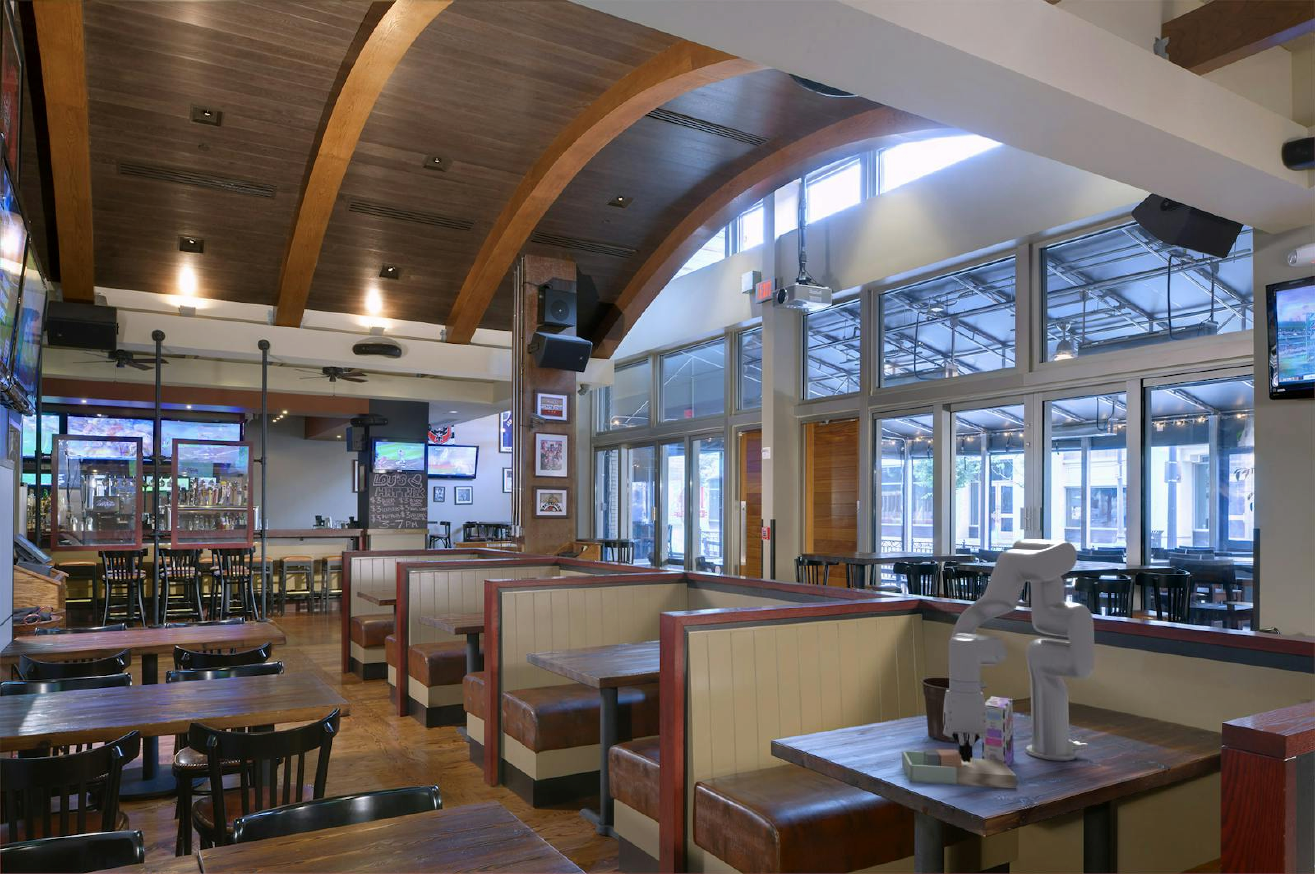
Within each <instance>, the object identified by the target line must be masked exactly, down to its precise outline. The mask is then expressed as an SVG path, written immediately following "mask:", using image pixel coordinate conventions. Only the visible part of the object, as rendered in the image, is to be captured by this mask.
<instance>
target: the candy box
mask: <svg viewBox="0 0 1315 874" xmlns="http://www.w3.org/2000/svg"><path fill="white" fill-rule="evenodd" d="M1013 704H1014V703H1013V698H1009V697H1008V698H1007V697H999V696H998V697H997V696H992V695H991V696H990V698H988V699H987V700H985V705H986V714H987V734H988V737H987V738H983V739H981V740H982V741H981V744H982V745H981V747H982V748H981V749H982V750H981V751H982V753H981V756H982V757H981V759H994V760H1002V761H1003V762H1004V763H1005V764H1006V765H1007V766H1008V767H1009V768H1010V765H1011V764H1012V763H1013V761H1014V760H1015V758H1014V757H1015V756H1014V755H1015V754H1014V753H1015V752H1014V751H1015V748H1014V714H1013V713H1014V711H1013V707H1014V706H1013Z"/></svg>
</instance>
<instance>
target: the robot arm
mask: <svg viewBox="0 0 1315 874" xmlns="http://www.w3.org/2000/svg"><path fill="white" fill-rule="evenodd" d="M1077 561H1078V553H1077V550H1076V548H1075V546H1074V545H1073V543H1071V542H1069V541H1066V540H1059V539H1058V540H1057V539H1041V538H1040V539H1039V538H1038V539H1037V538H1024V539H1023V538H1022V539H1019V540H1017V541H1015V542H1014V543H1013V545H1012V548H1010V549H1006V550H1003V551H1002V552H1001V553H1000V554H999V555H998V557H997V559H996V562H995V564H994V567H993V570H992V573H991V575H990V578H989V580H988V583H987V586H986V589H985V591H984V594H982V596H981V597H980V598H979V599H977V600H976V601H974V602H973V603H972V604H970V605H969V606H967V608H966V609H965V610H964V611H963V612H962V613H961V614H960V615H959V617H958V619H957V620H956V624H955V626H954V628H953V631H952V634H951V638H950V639H949V642H948V671H949V673H948V678H949V690H946V693H945V699H944V710H943V725H944V731H943V734H944V735H945V736H948V737H952V738H954V739H955V740H956V741H957V742H958V743H957V744H958V753H959V754H960V755H961V759H962V760H963V762H970V758H974V757H973V746H974V745H975V743H977V742H978V740H982V739H983V738H987V737H988V734H987V714H986V705H985V702H986V700H985V696H984V693H983V692H982V690H983V689H987V683H986V682H982V680H981V666H998V665H1000V664H1002V663H1003V662H1004V661H1005V660H1006V658H1007V656H1008V648H1007V645H1006V643H1005V642H1004V641H1003V640H1002V639H1001V638H999V637H997V636H993V635H988V634H982V633H975V632H976V631H977V629H978V628H979V627H980V626H981V625H982V624H984V623H985V622H987V621H989V620H991V619H994V618H997V617H999V616H1003V615H1006V614H1008V613H1011V612H1013V611H1014V610H1015V609H1016V608H1017V606H1018V603H1019V602H1020V601H1019V600H1020V597H1021V595H1022V591H1023V589H1024V587H1025V583H1027V582H1029V584H1030V597H1031V598H1030V600H1031V604H1030V605H1031V606H1030V607H1031V608H1030V609H1031V623H1032V627H1033V628H1034V630H1035V631H1036V632H1038V633H1041V634H1045V635H1052V636H1057V637H1058V636H1059V637H1065V638H1068V641H1063V640H1059V639H1052V638H1051V639H1050V638H1037V639H1036V638H1035V639H1033V640H1032V641H1030V642H1029V643H1028V645H1027V647H1026V650H1025V656H1026V657H1025V658H1026V662H1027V668H1028V672H1029V673H1028V674H1029V678H1030V679H1029V681H1030V706H1031V707H1030V719H1031V727H1030V728H1031V744H1029V745H1027V746H1026V747H1025V751H1026V753H1027V754H1029V756H1032V757H1035V758H1039V759H1044V760H1049V761H1056V762H1058V761H1059V762H1061V761H1062V762H1063V761H1072V760H1074V759H1076V757H1077V754H1076V752H1077V750H1078V751H1081V752H1082V751H1083V752H1084V751H1085V752H1088V751H1089V745H1088V743H1087V742H1086V743H1085V742H1084V743H1083V742H1081V743H1080V741H1073V740H1072V739H1070V722H1069V720H1070V719H1069V717H1070V716H1069V691H1068V687H1067V684H1066V683H1065V681H1064V680H1063V678H1062V677H1065V678H1068V679H1069V678H1070V679H1076V680H1086V679H1089V678H1090V676H1092V675H1093V672H1094V669H1095V625H1094V623H1095V622H1094V617H1093V614H1092V612H1091V611H1090V609H1089V608H1088V607H1087V606H1086V605H1085V604H1082V603H1078V602H1071V601H1066V600H1065V588H1064V582H1063V581H1064V580H1063V578H1062V576H1063V575H1065V574H1067V573H1069V572H1071V571H1072V569H1074V567H1075V566H1076V563H1077ZM963 733H968V734H967V741H965V742H964V738H963Z"/></svg>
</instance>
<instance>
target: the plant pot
mask: <svg viewBox="0 0 1315 874" xmlns="http://www.w3.org/2000/svg"><path fill="white" fill-rule="evenodd" d="M920 683H921V684H922V691H923V695H924V701H925V711H926V722H927V723H926V724H927V734H928V736H929V738H931V739H933V740H936V739H937V740H939V742H945V743H949V744H950V743H951V744H959V743H958V742H957V741H956V740H955V739H954V738H952V737H948V736H945V735H944V734H943V731H944V725H943V710H944V699H945V693H946V690H949V677H942V676H941V677H939V676H936V677H935V676H934V677H933V676H932V677H924V678H922V679H921V681H920ZM967 734H968V733H963V738H964V742H965V743H966V741H967Z"/></svg>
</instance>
